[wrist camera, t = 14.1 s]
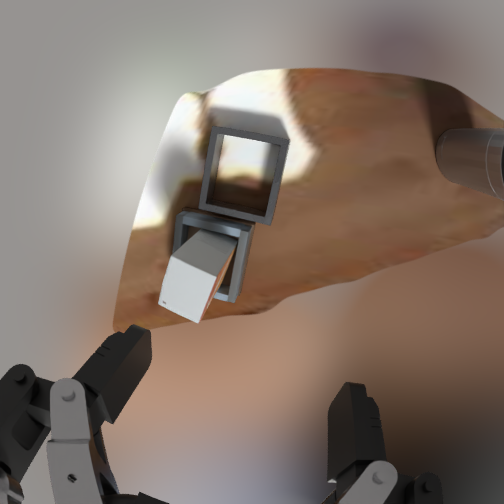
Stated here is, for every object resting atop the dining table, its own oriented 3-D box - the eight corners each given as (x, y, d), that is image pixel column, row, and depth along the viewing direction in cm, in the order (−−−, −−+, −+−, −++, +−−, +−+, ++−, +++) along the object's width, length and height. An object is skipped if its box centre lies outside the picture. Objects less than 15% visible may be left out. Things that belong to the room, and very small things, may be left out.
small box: (223, 280, 47) (198, 325, 35) (190, 265, 47) (156, 304, 35) (240, 240, 43) (217, 277, 31) (204, 224, 43) (169, 254, 31)
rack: (255, 223, 43) (251, 230, 39) (240, 292, 48) (235, 304, 44) (185, 206, 44) (174, 212, 40) (178, 274, 49) (168, 285, 45)
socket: (290, 140, 38) (289, 140, 34) (272, 219, 43) (270, 225, 39) (219, 127, 39) (212, 125, 35) (205, 203, 43) (198, 208, 40)
